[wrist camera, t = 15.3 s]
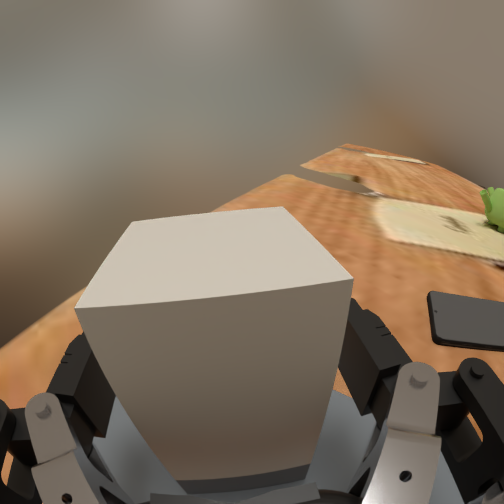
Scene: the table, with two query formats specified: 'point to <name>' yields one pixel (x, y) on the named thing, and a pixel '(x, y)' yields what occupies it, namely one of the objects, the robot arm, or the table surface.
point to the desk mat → (320, 471)
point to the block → (221, 342)
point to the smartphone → (466, 321)
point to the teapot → (494, 207)
